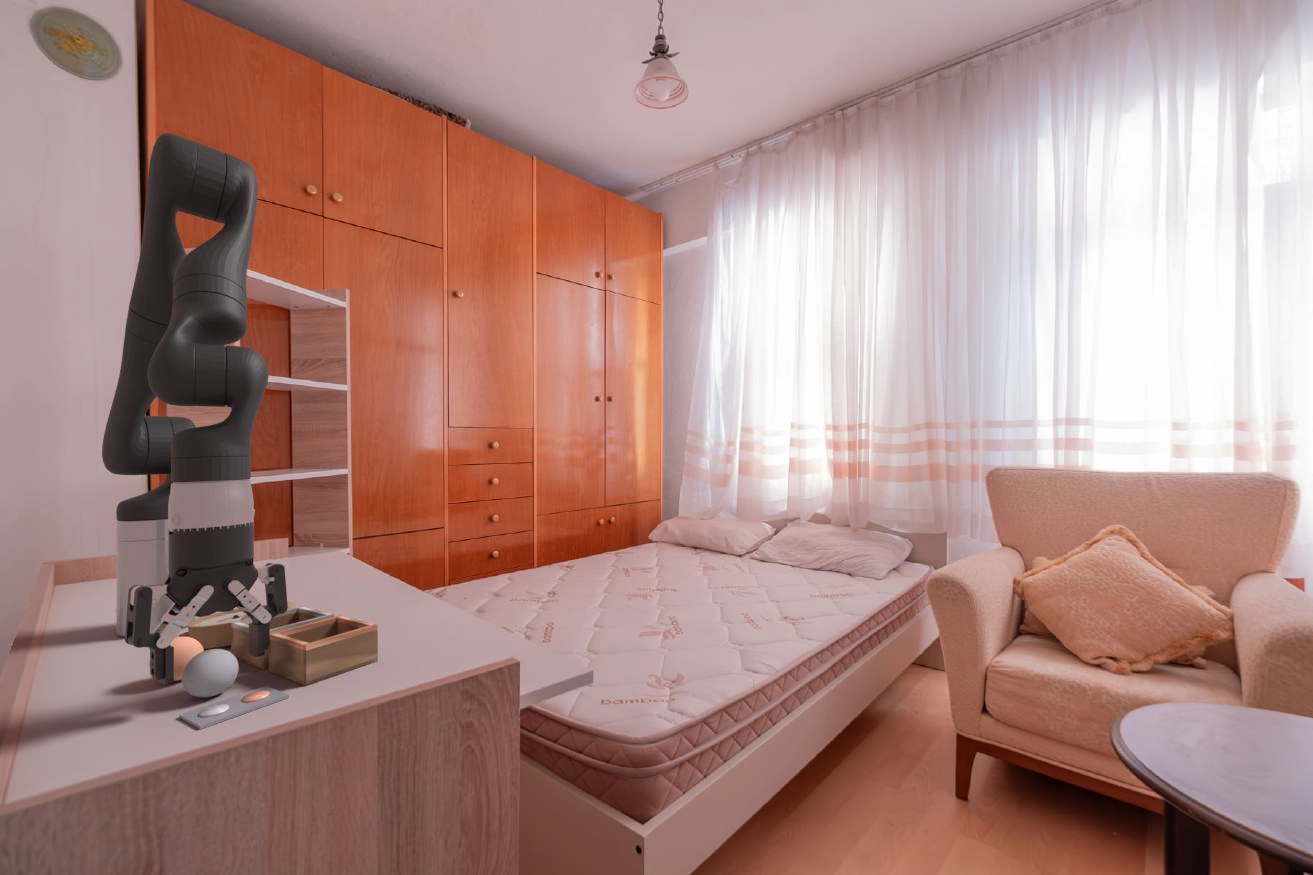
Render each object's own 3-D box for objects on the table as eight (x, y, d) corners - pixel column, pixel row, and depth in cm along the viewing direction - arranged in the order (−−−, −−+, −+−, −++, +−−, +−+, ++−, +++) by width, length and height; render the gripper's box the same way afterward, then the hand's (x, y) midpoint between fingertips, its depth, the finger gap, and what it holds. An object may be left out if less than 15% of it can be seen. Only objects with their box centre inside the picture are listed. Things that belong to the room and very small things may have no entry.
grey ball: (173, 699, 62) (173, 653, 62) (226, 682, 66) (226, 639, 66) (192, 709, 59) (192, 661, 59) (247, 691, 63) (247, 646, 64)
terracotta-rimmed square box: (268, 671, 69) (268, 633, 69) (339, 649, 77) (339, 615, 77) (306, 685, 65) (306, 645, 65) (377, 660, 72) (377, 624, 72)
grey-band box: (231, 657, 74) (231, 622, 75) (301, 638, 82) (300, 606, 82) (263, 669, 70) (263, 632, 70) (334, 647, 77) (334, 614, 78)
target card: (179, 717, 57) (179, 712, 57) (266, 688, 64) (266, 683, 64) (200, 729, 55) (200, 723, 55) (289, 697, 62) (288, 692, 62)
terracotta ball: (142, 683, 66) (142, 640, 67) (194, 668, 71) (194, 628, 71) (159, 691, 64) (159, 647, 64) (211, 676, 68) (211, 634, 68)
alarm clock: (230, 607, 90) (318, 590, 88) (236, 638, 89) (324, 621, 88) (163, 630, 78) (262, 610, 77) (168, 665, 78) (268, 646, 77)
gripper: (266, 514, 71) (267, 643, 71) (115, 528, 59) (115, 685, 59) (297, 515, 67) (299, 653, 67) (143, 531, 55) (143, 699, 55)
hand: (213, 668), depth 63 cm, fingers open, 8 cm apart
